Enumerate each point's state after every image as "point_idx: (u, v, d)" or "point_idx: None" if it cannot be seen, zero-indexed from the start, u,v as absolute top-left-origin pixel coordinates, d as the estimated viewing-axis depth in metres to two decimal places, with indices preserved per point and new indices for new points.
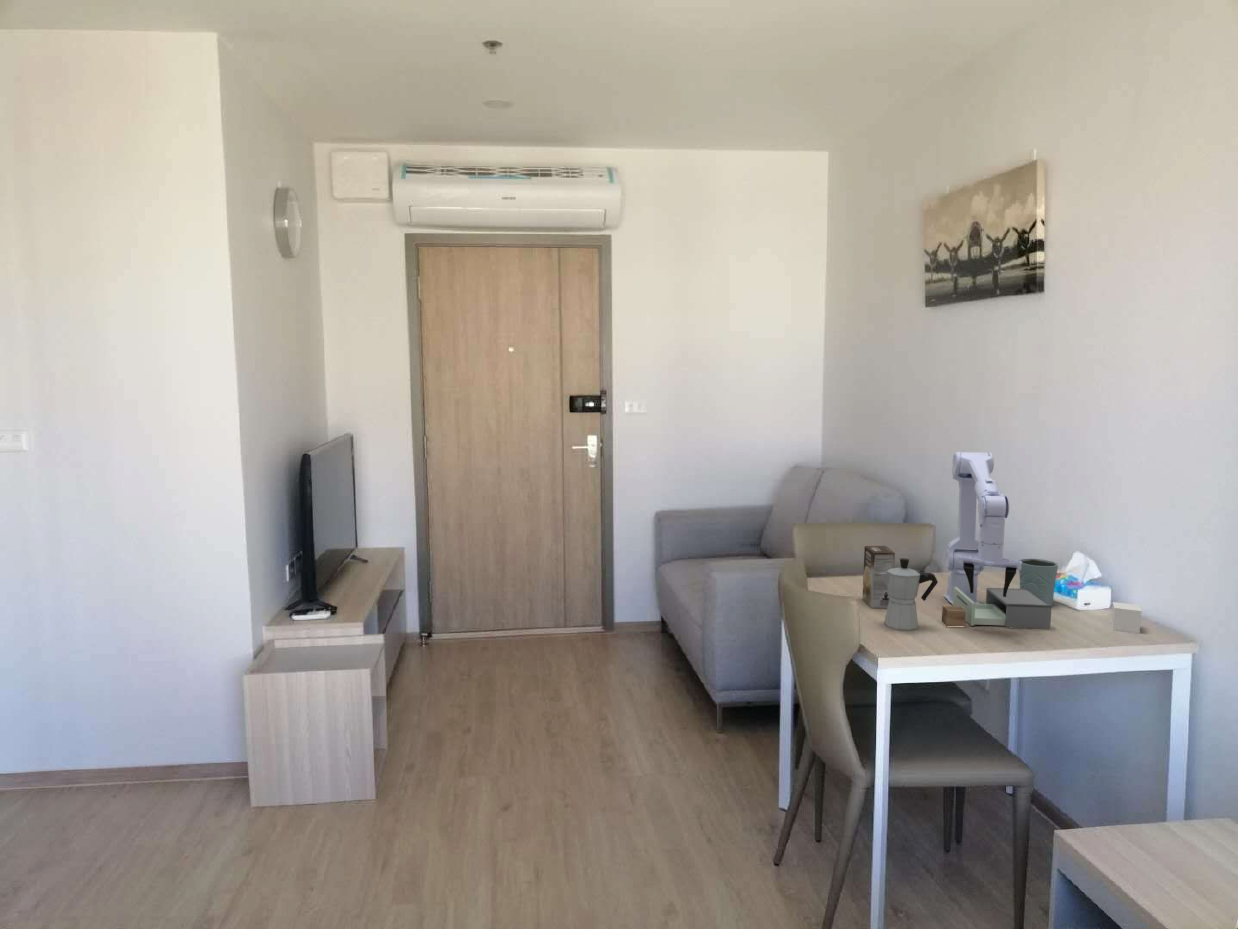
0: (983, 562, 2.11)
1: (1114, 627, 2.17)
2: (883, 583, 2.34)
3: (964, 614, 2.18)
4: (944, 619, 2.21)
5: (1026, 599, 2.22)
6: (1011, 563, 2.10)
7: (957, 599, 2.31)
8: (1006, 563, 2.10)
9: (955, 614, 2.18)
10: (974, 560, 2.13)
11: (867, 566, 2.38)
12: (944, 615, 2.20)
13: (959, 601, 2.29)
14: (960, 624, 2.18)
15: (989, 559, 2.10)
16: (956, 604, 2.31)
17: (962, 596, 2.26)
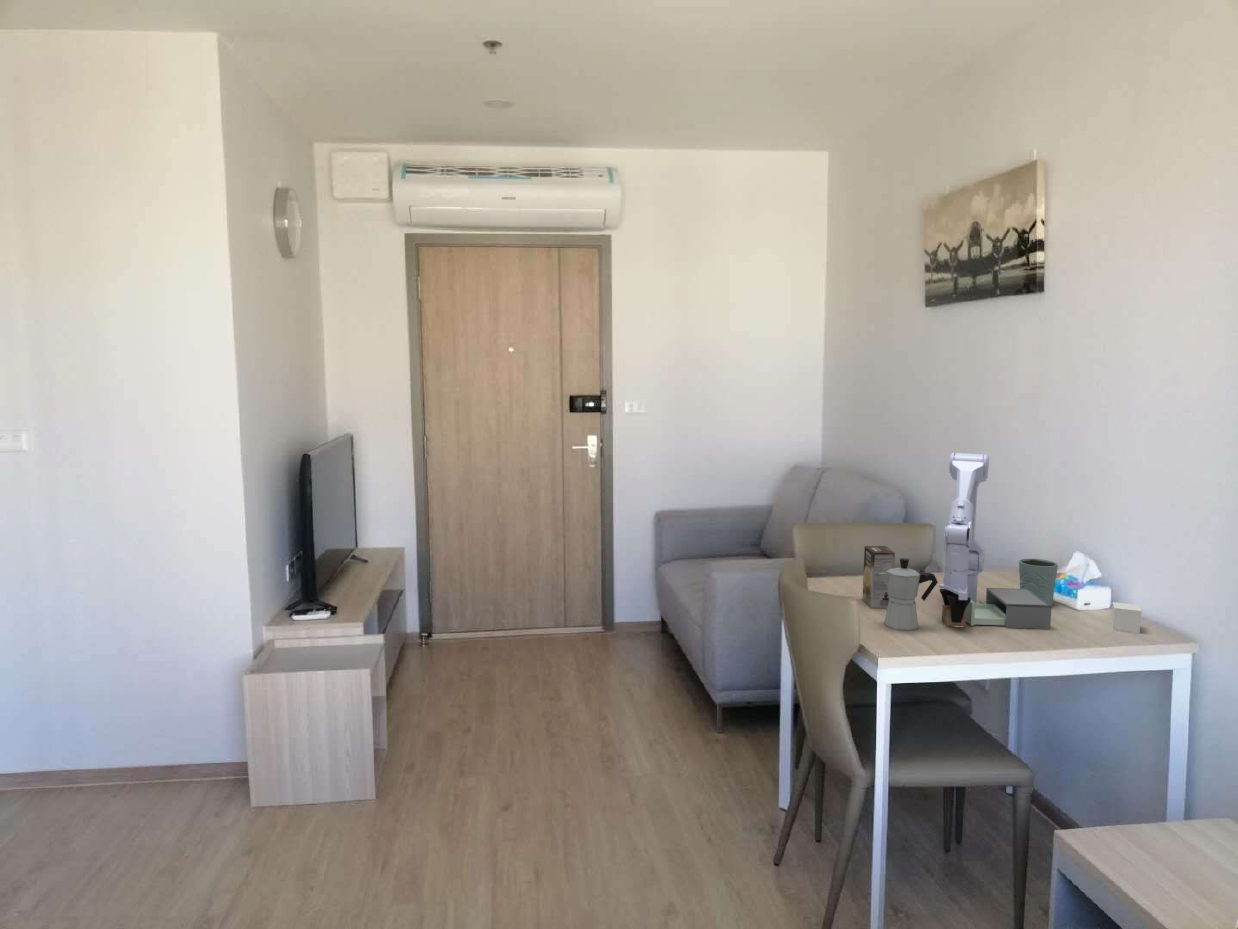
0: None
1: (1114, 627, 2.17)
2: (883, 583, 2.34)
3: (964, 614, 2.18)
4: (944, 619, 2.21)
5: (1026, 599, 2.22)
6: (955, 591, 2.15)
7: None
8: (952, 590, 2.16)
9: None
10: (943, 582, 2.23)
11: (867, 566, 2.38)
12: (944, 615, 2.20)
13: None
14: (960, 624, 2.18)
15: (944, 583, 2.20)
16: None
17: None
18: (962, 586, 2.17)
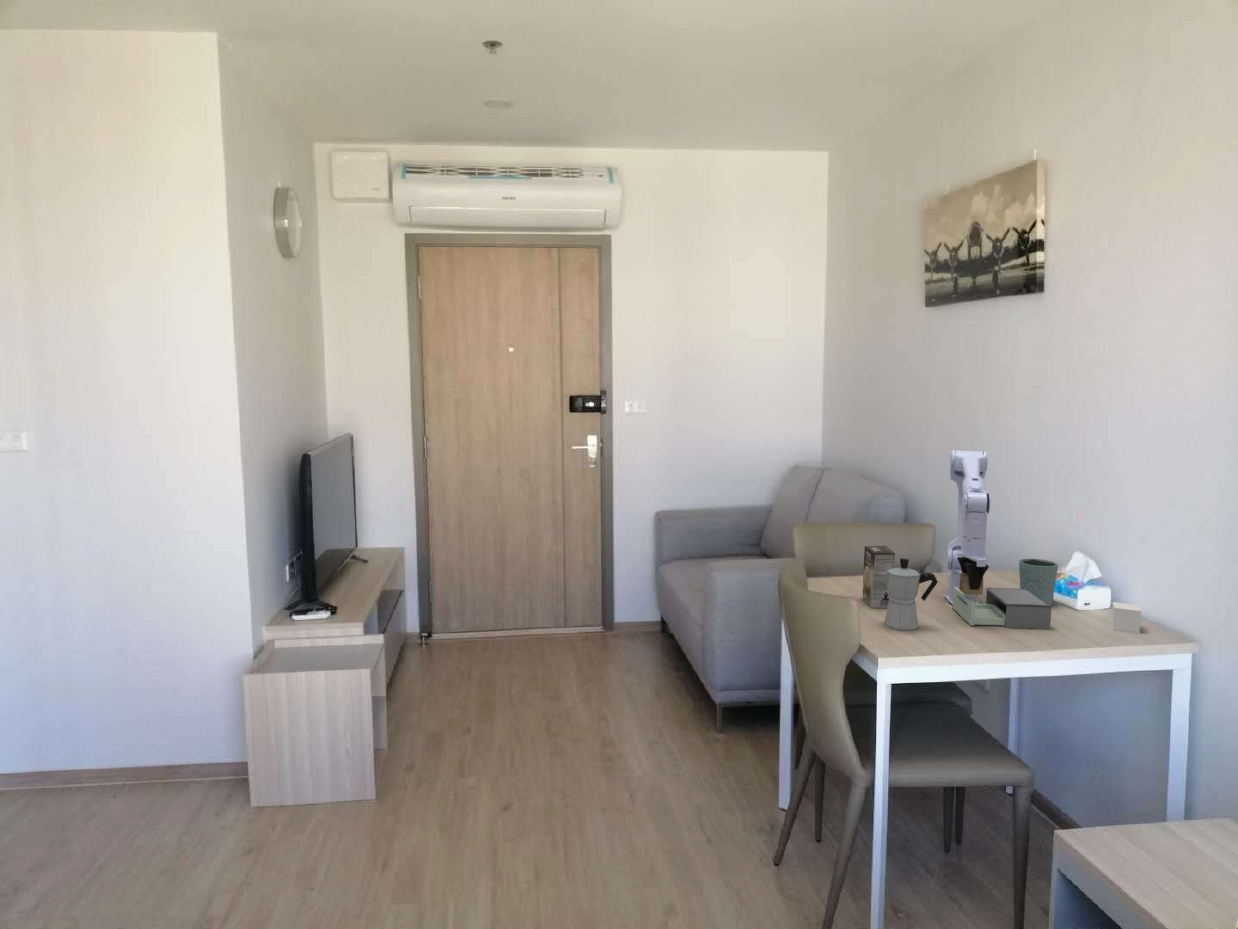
0: None
1: (1114, 627, 2.17)
2: (883, 583, 2.34)
3: (982, 581, 2.20)
4: (962, 586, 2.23)
5: (1026, 599, 2.22)
6: (973, 558, 2.17)
7: (957, 599, 2.31)
8: (970, 557, 2.18)
9: None
10: (961, 551, 2.26)
11: (867, 566, 2.38)
12: (962, 582, 2.23)
13: (959, 601, 2.29)
14: (978, 591, 2.21)
15: (962, 550, 2.22)
16: (956, 604, 2.31)
17: (962, 596, 2.26)
18: (980, 553, 2.19)
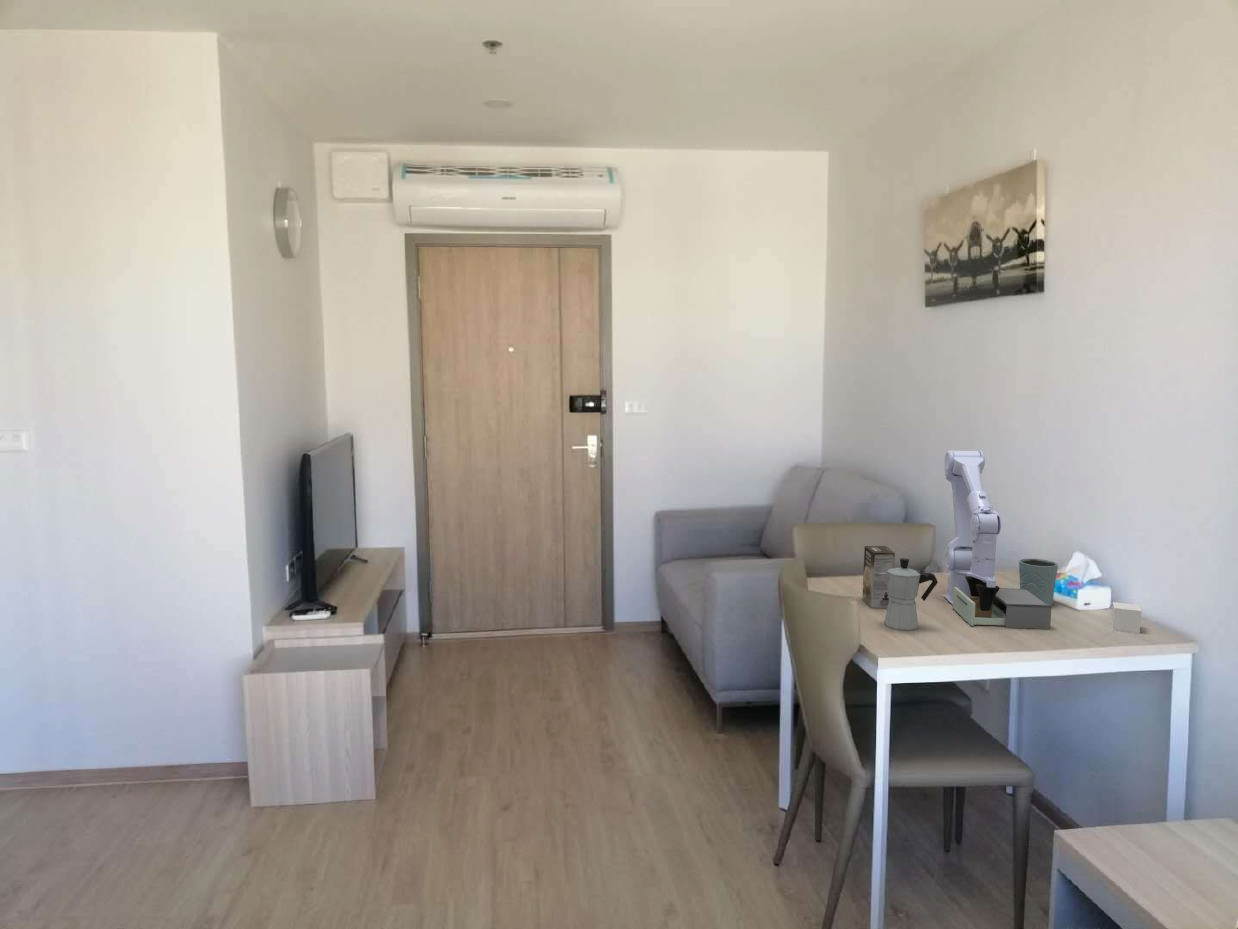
0: None
1: (1114, 627, 2.17)
2: (883, 583, 2.34)
3: None
4: None
5: (1026, 599, 2.22)
6: (983, 579, 2.20)
7: (957, 599, 2.31)
8: (980, 578, 2.21)
9: None
10: None
11: (867, 566, 2.38)
12: None
13: (959, 601, 2.29)
14: (987, 614, 2.24)
15: (971, 571, 2.25)
16: (956, 604, 2.31)
17: (962, 596, 2.26)
18: (989, 574, 2.22)
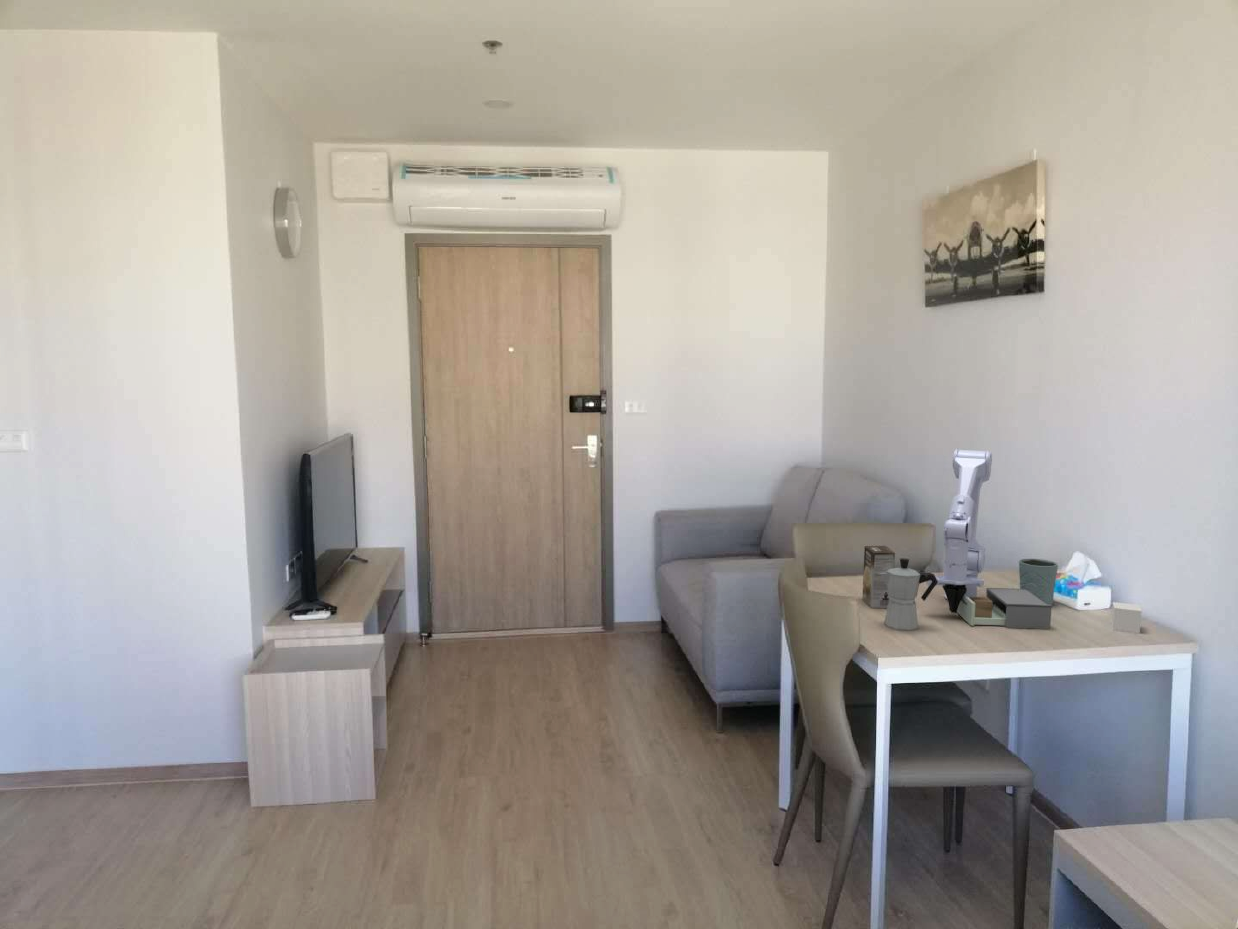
0: (952, 582, 2.24)
1: (1114, 627, 2.17)
2: (883, 583, 2.34)
3: (991, 604, 2.23)
4: None
5: (1026, 599, 2.22)
6: (975, 581, 2.24)
7: None
8: (971, 582, 2.24)
9: (982, 605, 2.24)
10: (943, 581, 2.25)
11: (867, 566, 2.38)
12: None
13: None
14: (987, 614, 2.24)
15: (957, 579, 2.23)
16: None
17: None
18: None
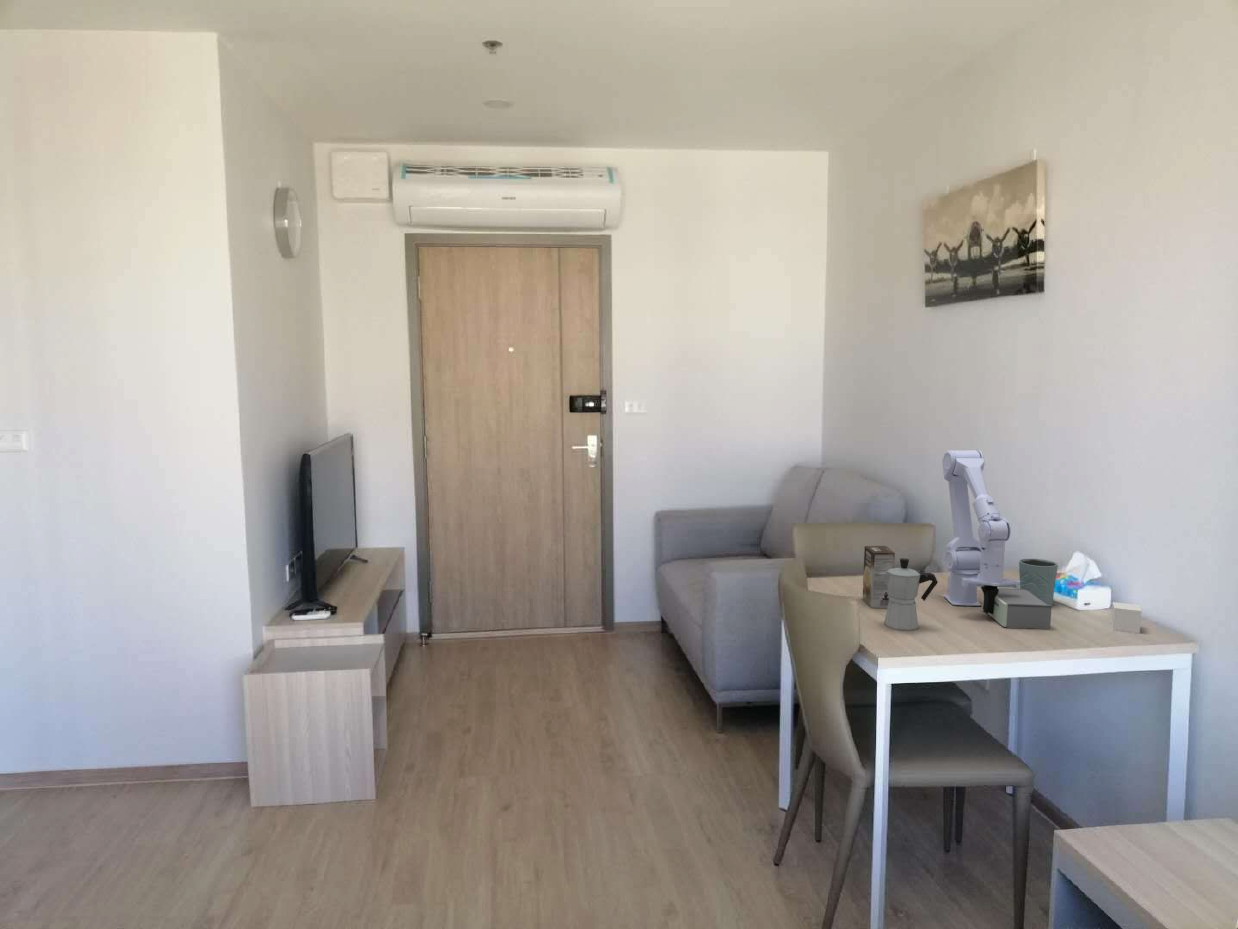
0: (988, 583, 2.23)
1: (1114, 627, 2.17)
2: (883, 583, 2.34)
3: None
4: None
5: (1026, 599, 2.22)
6: (1011, 582, 2.24)
7: None
8: (1007, 583, 2.23)
9: None
10: (979, 582, 2.24)
11: (867, 566, 2.38)
12: None
13: None
14: None
15: (994, 580, 2.22)
16: None
17: None
18: None
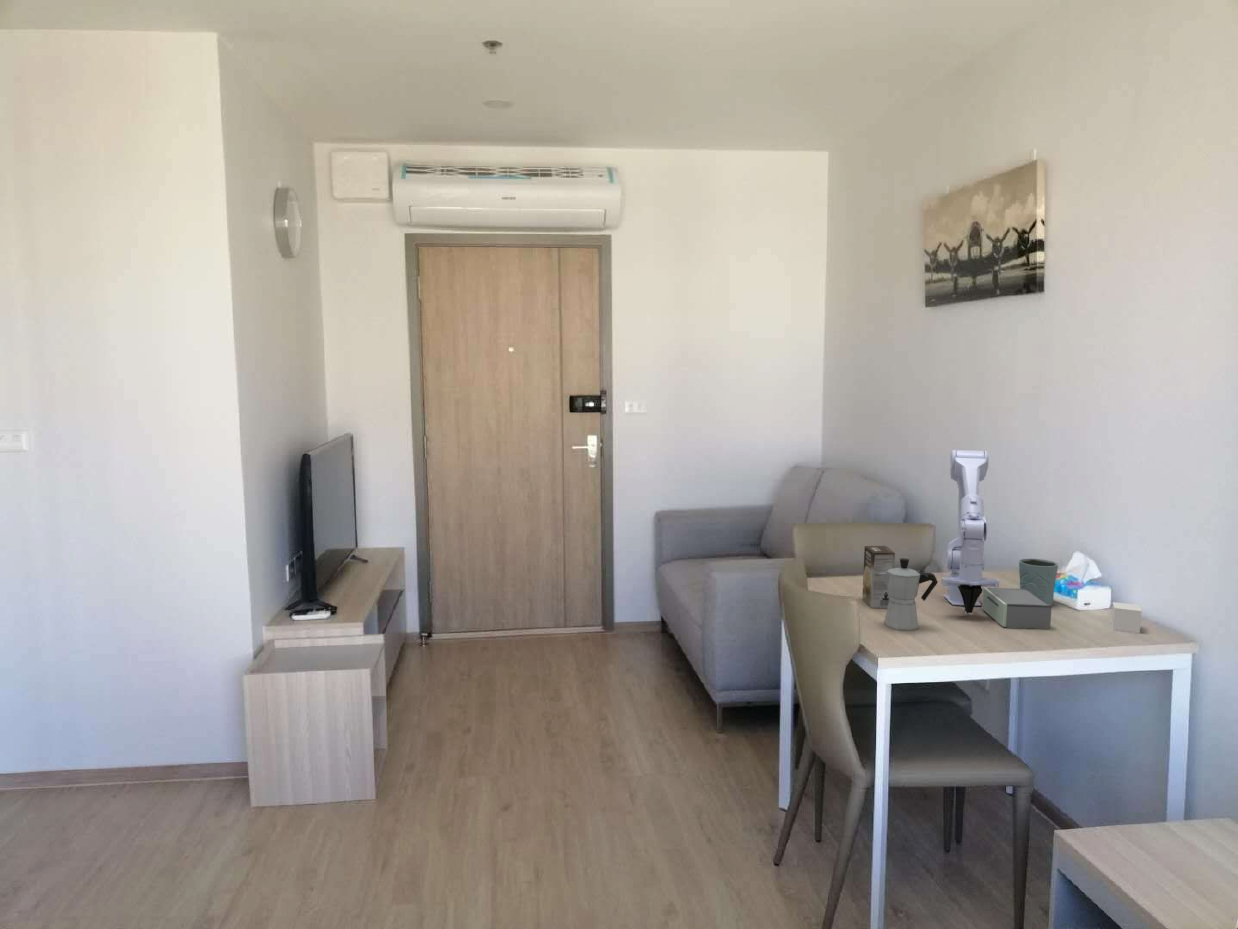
0: (968, 583, 2.23)
1: (1114, 627, 2.17)
2: (883, 583, 2.34)
3: None
4: None
5: (1026, 599, 2.22)
6: (991, 582, 2.24)
7: (987, 600, 2.30)
8: (987, 582, 2.24)
9: None
10: (958, 581, 2.24)
11: (867, 566, 2.38)
12: None
13: (989, 602, 2.28)
14: None
15: (973, 580, 2.23)
16: (986, 605, 2.31)
17: (993, 597, 2.25)
18: None
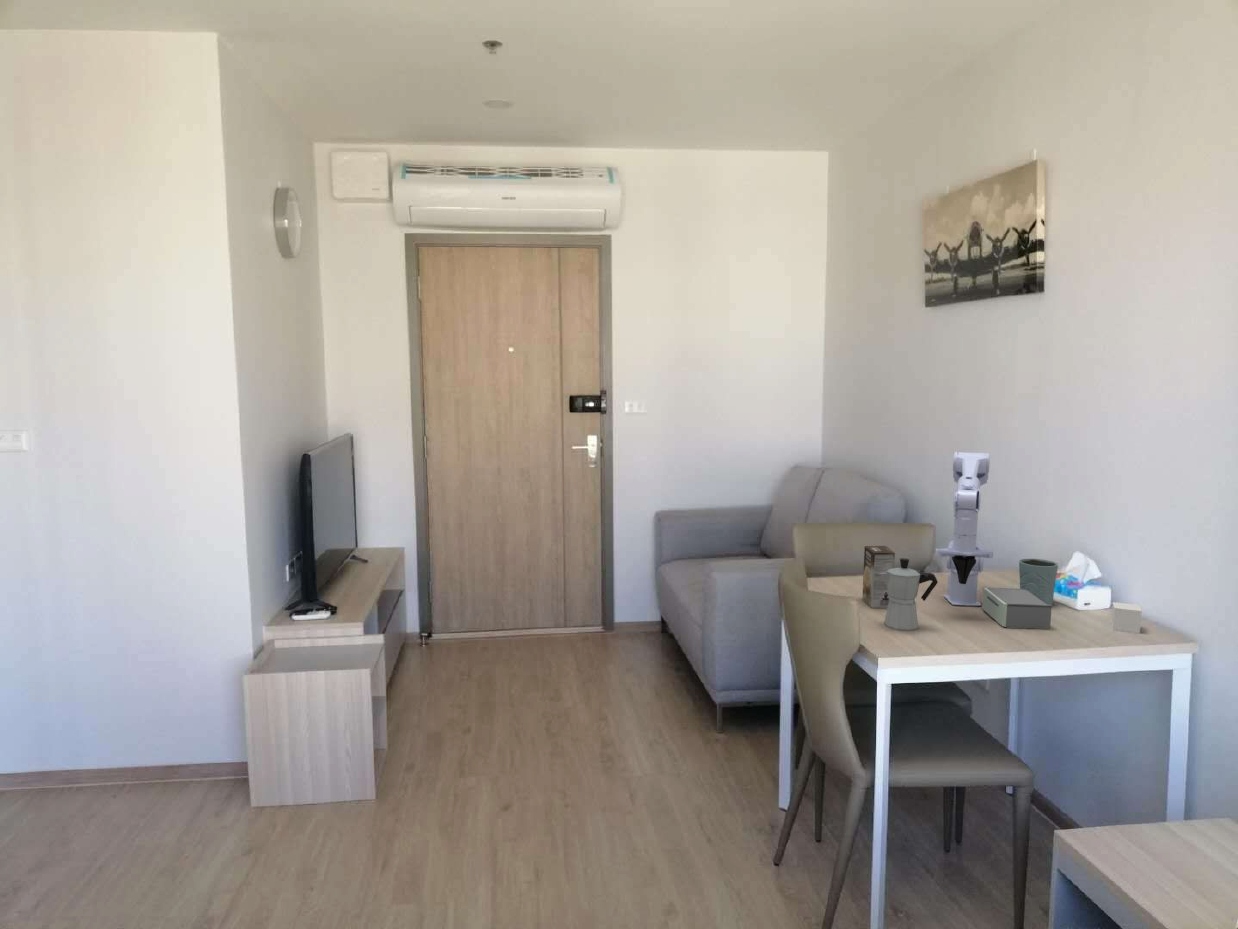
0: (961, 553, 2.23)
1: (1114, 627, 2.17)
2: (883, 583, 2.34)
3: None
4: None
5: (1026, 599, 2.22)
6: (985, 552, 2.23)
7: (987, 600, 2.30)
8: (981, 553, 2.23)
9: None
10: (952, 552, 2.24)
11: (867, 566, 2.38)
12: None
13: (989, 602, 2.28)
14: None
15: (967, 550, 2.22)
16: (986, 605, 2.31)
17: (993, 597, 2.25)
18: None
